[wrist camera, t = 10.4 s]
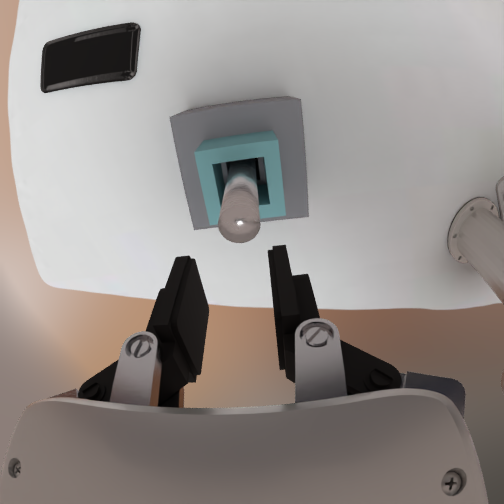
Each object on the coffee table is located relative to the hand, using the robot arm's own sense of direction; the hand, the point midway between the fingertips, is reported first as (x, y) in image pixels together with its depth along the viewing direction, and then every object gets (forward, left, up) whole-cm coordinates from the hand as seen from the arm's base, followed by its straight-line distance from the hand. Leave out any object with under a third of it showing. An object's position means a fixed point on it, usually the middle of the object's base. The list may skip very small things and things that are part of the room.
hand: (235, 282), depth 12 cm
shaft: (0, 0, -20) cm, 20 cm away
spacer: (0, 0, -17) cm, 17 cm away
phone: (+18, -17, -26) cm, 36 cm away
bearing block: (0, 0, -25) cm, 25 cm away
